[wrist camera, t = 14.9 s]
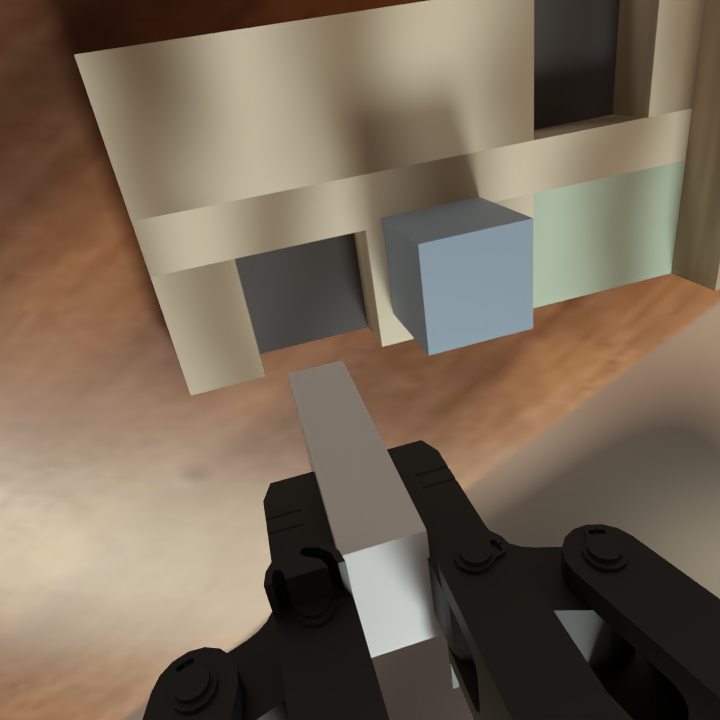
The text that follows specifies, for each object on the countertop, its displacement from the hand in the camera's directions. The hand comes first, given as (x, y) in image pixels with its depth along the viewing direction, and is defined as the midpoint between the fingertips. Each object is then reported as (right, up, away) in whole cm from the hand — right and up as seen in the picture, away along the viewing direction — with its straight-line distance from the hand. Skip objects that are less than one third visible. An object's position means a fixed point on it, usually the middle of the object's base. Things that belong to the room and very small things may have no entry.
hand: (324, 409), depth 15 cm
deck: (+3, +9, +8) cm, 12 cm away
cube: (+4, +5, +7) cm, 10 cm away
